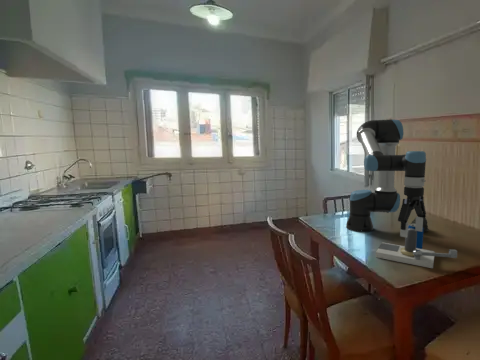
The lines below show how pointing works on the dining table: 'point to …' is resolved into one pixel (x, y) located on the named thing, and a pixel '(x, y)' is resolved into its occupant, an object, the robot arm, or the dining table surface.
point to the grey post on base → (410, 243)
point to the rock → (423, 224)
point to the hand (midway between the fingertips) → (411, 233)
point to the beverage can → (418, 236)
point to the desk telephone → (394, 254)
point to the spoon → (451, 253)
